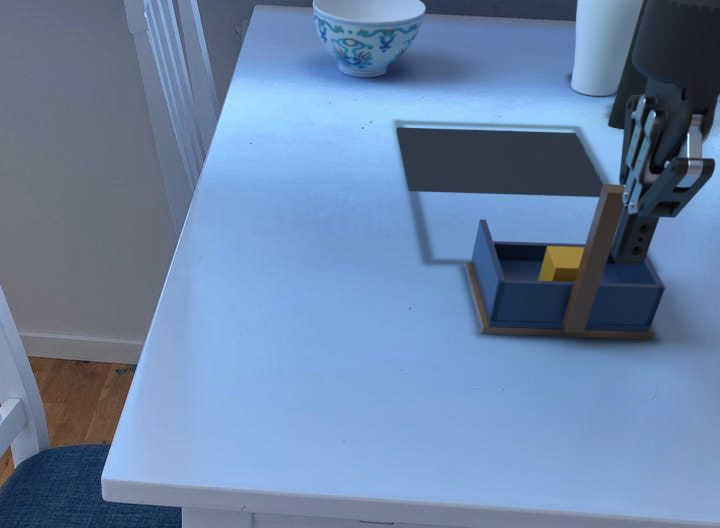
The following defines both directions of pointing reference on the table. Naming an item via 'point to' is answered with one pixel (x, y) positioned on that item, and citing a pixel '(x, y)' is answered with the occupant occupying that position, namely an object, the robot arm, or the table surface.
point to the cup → (602, 44)
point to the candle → (628, 81)
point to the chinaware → (367, 32)
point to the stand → (538, 331)
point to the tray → (567, 299)
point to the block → (560, 263)
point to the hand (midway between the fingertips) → (625, 259)
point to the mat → (497, 162)
